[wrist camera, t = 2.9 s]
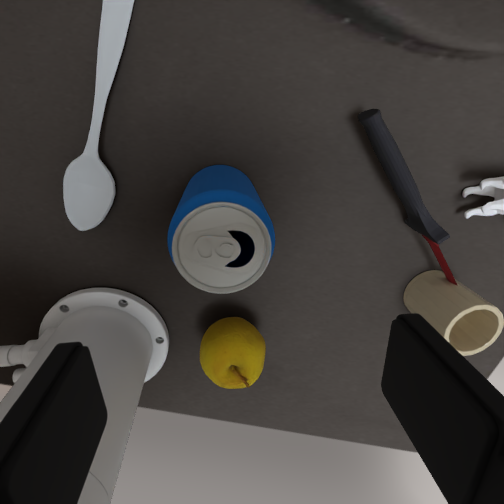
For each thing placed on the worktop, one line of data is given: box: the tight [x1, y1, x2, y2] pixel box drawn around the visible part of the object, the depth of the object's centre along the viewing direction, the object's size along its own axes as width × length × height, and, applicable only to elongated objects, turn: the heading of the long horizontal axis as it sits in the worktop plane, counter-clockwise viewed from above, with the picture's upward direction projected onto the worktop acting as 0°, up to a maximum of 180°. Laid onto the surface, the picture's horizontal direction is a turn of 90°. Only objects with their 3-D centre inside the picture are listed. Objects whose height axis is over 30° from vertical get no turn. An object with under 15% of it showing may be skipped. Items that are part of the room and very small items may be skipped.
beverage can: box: [167, 165, 275, 294], centre depth 23 cm, size 6×6×12 cm
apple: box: [200, 317, 266, 389], centre depth 31 cm, size 6×6×8 cm
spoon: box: [63, 0, 134, 231], centre depth 24 cm, size 4×21×2 cm, turn 162°
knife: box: [358, 109, 458, 286], centre depth 29 cm, size 24×2×5 cm, turn 36°
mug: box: [403, 270, 504, 356], centre depth 33 cm, size 8×6×7 cm
